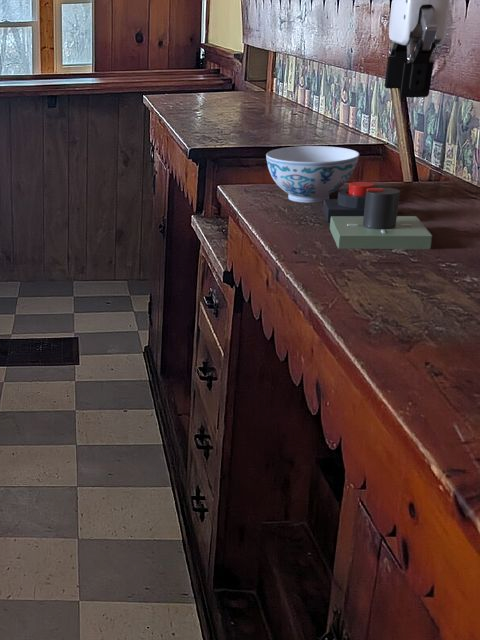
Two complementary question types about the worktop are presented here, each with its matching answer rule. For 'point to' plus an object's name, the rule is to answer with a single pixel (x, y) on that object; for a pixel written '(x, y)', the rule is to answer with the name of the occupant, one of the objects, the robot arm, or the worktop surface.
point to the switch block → (344, 205)
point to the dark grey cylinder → (381, 208)
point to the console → (379, 234)
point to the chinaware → (311, 170)
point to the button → (359, 188)
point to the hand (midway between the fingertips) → (405, 92)
